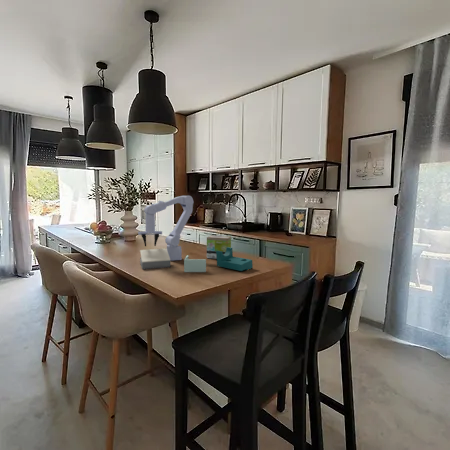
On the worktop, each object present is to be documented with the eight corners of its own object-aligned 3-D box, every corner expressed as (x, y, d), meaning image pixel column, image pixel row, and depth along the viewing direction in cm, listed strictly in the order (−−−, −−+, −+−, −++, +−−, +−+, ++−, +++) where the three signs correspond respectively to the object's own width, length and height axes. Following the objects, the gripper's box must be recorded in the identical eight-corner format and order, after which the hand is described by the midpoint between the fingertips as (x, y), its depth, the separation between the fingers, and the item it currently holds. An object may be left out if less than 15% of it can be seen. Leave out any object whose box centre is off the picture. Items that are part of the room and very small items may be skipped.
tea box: (206, 258, 191) (206, 236, 189) (210, 255, 201) (210, 235, 199) (227, 259, 187) (228, 237, 186) (231, 256, 197) (231, 235, 196)
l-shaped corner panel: (205, 273, 157) (205, 259, 156) (184, 273, 156) (184, 259, 156) (206, 267, 168) (206, 255, 168) (186, 267, 168) (186, 255, 168)
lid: (166, 249, 179) (166, 248, 178) (170, 260, 167) (170, 259, 166) (140, 250, 173) (140, 250, 173) (142, 262, 161) (142, 261, 161)
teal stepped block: (217, 268, 167) (216, 251, 166) (228, 263, 176) (227, 247, 174) (241, 273, 156) (240, 255, 154) (252, 268, 164) (252, 250, 162)
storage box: (166, 262, 180) (166, 255, 180) (170, 267, 167) (170, 260, 167) (140, 264, 174) (140, 257, 174) (142, 269, 161) (142, 262, 161)
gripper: (161, 223, 184) (161, 244, 185) (137, 224, 178) (137, 245, 179) (162, 224, 177) (162, 246, 178) (138, 225, 172) (138, 247, 173)
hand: (150, 246), depth 178 cm, fingers open, 5 cm apart
